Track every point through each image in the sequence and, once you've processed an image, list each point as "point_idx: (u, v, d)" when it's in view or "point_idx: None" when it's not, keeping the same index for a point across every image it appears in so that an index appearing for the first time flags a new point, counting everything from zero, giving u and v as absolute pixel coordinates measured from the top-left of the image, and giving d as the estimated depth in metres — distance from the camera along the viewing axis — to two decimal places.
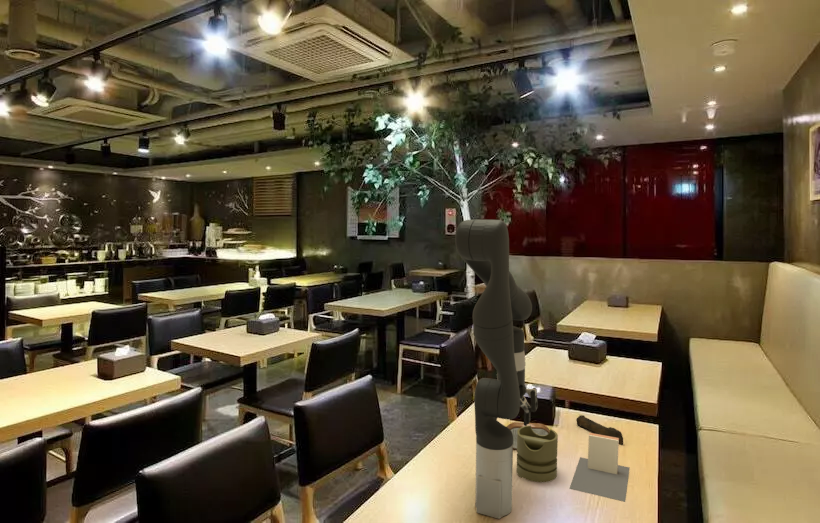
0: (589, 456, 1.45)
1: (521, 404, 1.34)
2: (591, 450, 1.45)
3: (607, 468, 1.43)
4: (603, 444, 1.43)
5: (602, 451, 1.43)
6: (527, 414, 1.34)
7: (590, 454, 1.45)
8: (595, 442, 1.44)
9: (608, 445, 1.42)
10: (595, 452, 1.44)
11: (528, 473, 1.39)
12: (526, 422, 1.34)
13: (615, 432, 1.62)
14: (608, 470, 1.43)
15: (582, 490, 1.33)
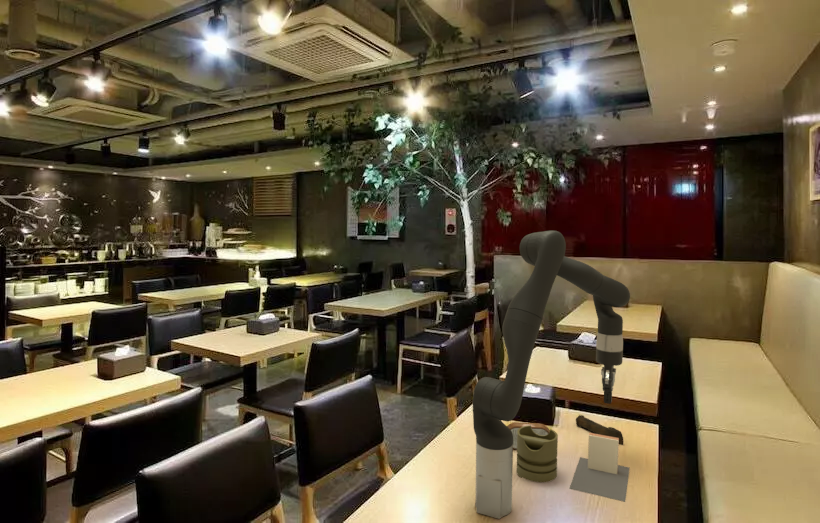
0: (589, 456, 1.45)
1: (614, 381, 1.52)
2: (591, 450, 1.45)
3: (607, 468, 1.43)
4: (603, 444, 1.43)
5: (602, 451, 1.43)
6: None
7: (590, 454, 1.45)
8: (595, 442, 1.44)
9: (608, 445, 1.42)
10: (595, 452, 1.44)
11: (528, 473, 1.39)
12: None
13: (615, 432, 1.62)
14: (608, 470, 1.43)
15: (582, 490, 1.33)
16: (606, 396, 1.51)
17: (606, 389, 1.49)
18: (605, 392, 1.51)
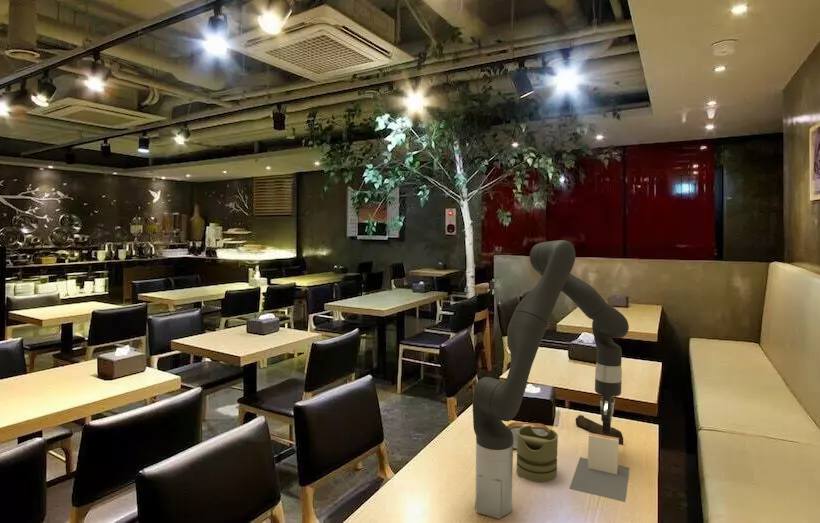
0: (589, 456, 1.45)
1: (613, 411, 1.52)
2: (591, 450, 1.45)
3: (607, 468, 1.43)
4: (603, 444, 1.43)
5: (602, 451, 1.43)
6: None
7: (590, 454, 1.45)
8: (595, 442, 1.44)
9: (608, 445, 1.42)
10: (595, 452, 1.44)
11: (528, 473, 1.39)
12: None
13: (615, 432, 1.62)
14: (608, 470, 1.43)
15: (582, 490, 1.33)
16: (605, 426, 1.51)
17: (605, 420, 1.49)
18: (604, 422, 1.51)
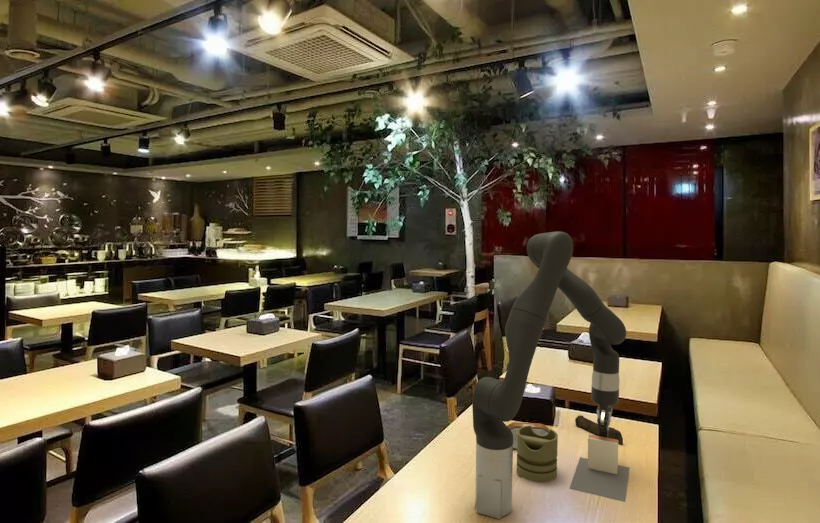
0: (589, 457, 1.44)
1: (610, 421, 1.45)
2: (591, 452, 1.44)
3: (607, 469, 1.43)
4: (602, 446, 1.42)
5: (602, 453, 1.42)
6: None
7: (590, 455, 1.44)
8: (594, 444, 1.43)
9: (608, 447, 1.41)
10: (595, 454, 1.43)
11: (528, 473, 1.39)
12: None
13: (615, 432, 1.62)
14: (608, 470, 1.43)
15: (582, 490, 1.33)
16: None
17: (602, 430, 1.42)
18: (600, 432, 1.44)
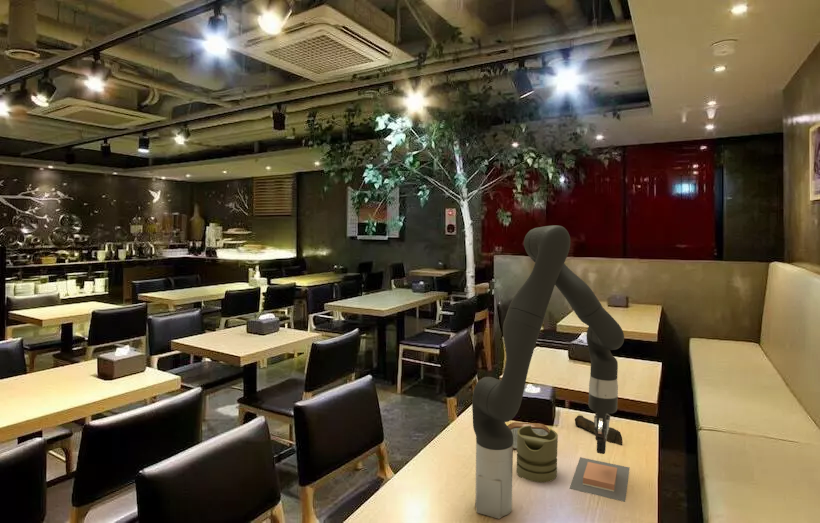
0: None
1: (608, 429, 1.39)
2: None
3: None
4: None
5: None
6: None
7: None
8: None
9: None
10: None
11: (528, 473, 1.39)
12: None
13: (614, 432, 1.62)
14: None
15: (582, 490, 1.33)
16: (599, 446, 1.38)
17: (599, 439, 1.36)
18: (598, 441, 1.38)
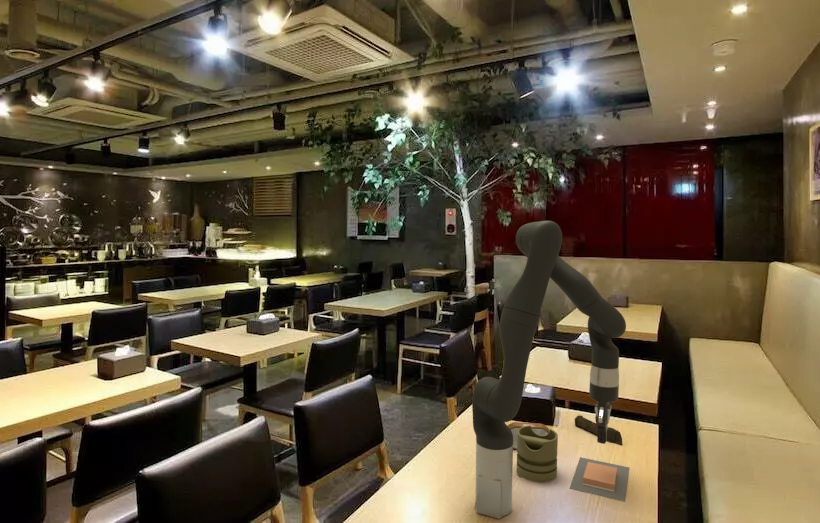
0: None
1: (609, 418, 1.38)
2: None
3: None
4: None
5: None
6: None
7: None
8: None
9: None
10: None
11: (528, 473, 1.39)
12: None
13: (614, 432, 1.61)
14: None
15: (582, 490, 1.33)
16: (600, 435, 1.37)
17: (600, 428, 1.35)
18: (599, 431, 1.37)
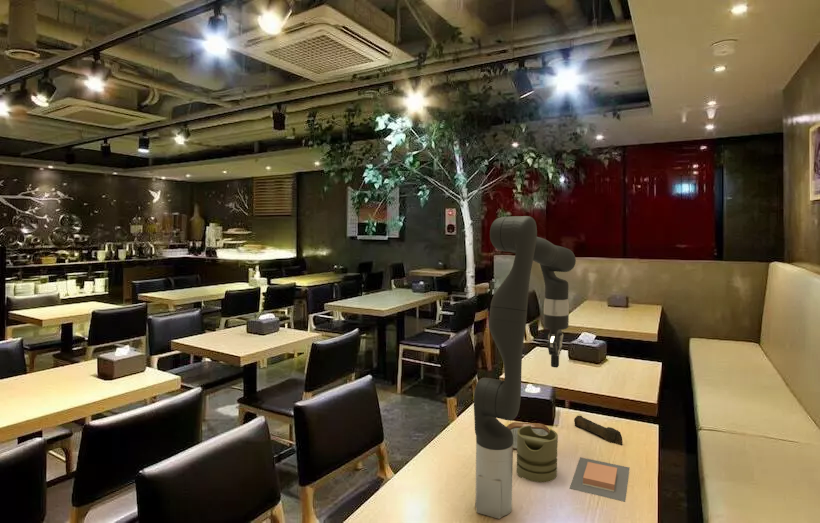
0: None
1: (561, 345, 1.55)
2: None
3: None
4: None
5: None
6: None
7: None
8: None
9: None
10: None
11: (528, 473, 1.39)
12: None
13: (614, 432, 1.62)
14: None
15: (582, 490, 1.33)
16: (553, 360, 1.55)
17: (552, 353, 1.53)
18: (552, 356, 1.55)
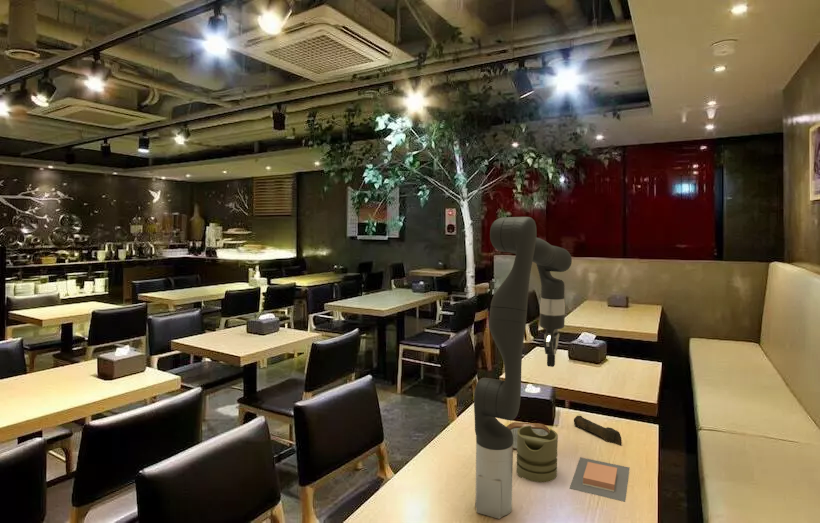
0: None
1: (557, 345, 1.57)
2: None
3: None
4: None
5: None
6: None
7: None
8: None
9: None
10: None
11: (528, 473, 1.39)
12: None
13: (613, 432, 1.61)
14: None
15: (582, 490, 1.33)
16: (549, 359, 1.56)
17: (548, 352, 1.54)
18: (548, 355, 1.56)
